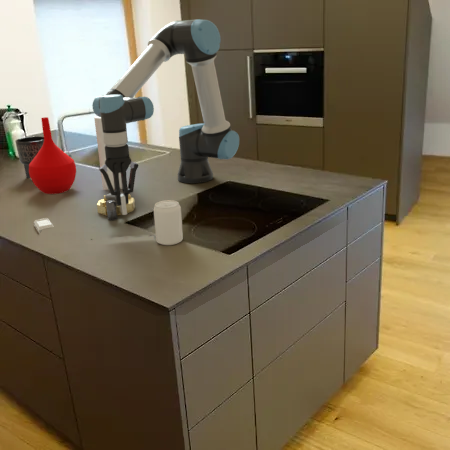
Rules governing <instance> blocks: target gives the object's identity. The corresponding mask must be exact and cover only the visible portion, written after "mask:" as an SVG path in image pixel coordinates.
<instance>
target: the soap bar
mask: <svg viewBox="0 0 450 450" xmlns="http://www.w3.org/2000/svg"><path fill="white" fill-rule="evenodd" d="M33 226H34V229H36V232H37V233H38V234H39V235H41V232H42V231H43V230H45V229H49V228H54V227H55V226H54V225H53V223H52V222H51V221H50V219H49V218H48V217H44V218H39V219H35V220H34V221H33Z"/></svg>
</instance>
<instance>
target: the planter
mask: <svg viewBox="0 0 450 450" xmlns="http://www.w3.org/2000/svg"><path fill="white" fill-rule="evenodd" d="M43 143H44V136H40V135H38V136H37V135H35V136H27V137H26V136H25V137H20V138H17V139H16V140H15V146H16V151H17V155H18V159H19V162H20V163H21V164H23V167H24V172H25V177H26V178H27V179H31V178H30V175H29V164H30V163H31V161H32V160H33V159H34V157H35V156H36V155H37V153H38V152H39V150H40V149H41V147H42V146H43Z"/></svg>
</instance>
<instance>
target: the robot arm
mask: <svg viewBox="0 0 450 450" xmlns="http://www.w3.org/2000/svg"><path fill="white" fill-rule="evenodd" d="M221 39H222V38H221V34H220V32H219V29H218V27H217V25H216V24H215V23H214V22H212V21H211V20H208V19H202V18H201V19H200V18H198V19H188V20H187V19H186V20H175V21H171V22H170V23H168V24H166V25H164V27H162V28H160V29H159V30H158V31H157V32H156V33H155V34H154V35H153V36H152V37H151V38H150V39H149V40H148V42H147V48H146V49H145V50H144V51H143V52H142V53H141V54H140V56H138V57H137V59H136V60H135V61H134V62H133V63H132V65H131V66H130V67H129V68H128V69H127V70H126V71H125V72H124V74H123V75H122V76H121V77H120V78H119V79H118V80H117V82H116V83H115V84H114V85H113V86H112V87H111V88H110V89H109V91H107V92H106V94H105V95H104V94H101V95H98V96H96V97H95V98H94V99H93V100H92V105H91V106H92V110H93V113H94V114H95V115H96V116H99V117H101V121H102V129H103V137H104V144H105V145H106V146H105V155H106V161H105V165H104V166H102V167H99V168H98V171H99V172H100V174H101V173H102V174H103V176H104V179H105V181H106V184H107V187H108V189H109V190H108V192H109V193H111V195H115V196H116V201H117V204H118V205H120V209H121V213H122V215H121V216H126V215H128V213H127V209H126V204H128V203H129V200H128V195H129V194H132V193H133V192H134V187H135V182H136V181H135V180H136V174H137V170H138V168H139V164H138V163H137V162H135V161H132V159H131V157H130V149H129V145H128V142H129V138H128V132H127V128H128V127H127V124H129V123H135V122H140V121H145V120H148V119H150V118H152V116H154V110H155V108H154V103H153V101H152V100H151V99H150V98H149V97H148V96H137V97H135V96H136V95H137V93H138V92H139V91H140V90H141V89H142V88H143V86H144V85H145V84H147V82H148V80H150V79H151V77H152V76H153V74H155V72H156V71H157V70H158V69H159V68H160V67H161V65H162V64H163V63H165V62H168V61H170V59H171V58H172V57H173V56H176V55H177V56H178V55H184V57H185V62H186V64H189V65H190V66H191V70H192V76H193V80H194V83H195V89H196V93H197V98H198V102H199V107H200V111H201V115H202V121H203V123H195V124H188V125H184V126H181V127H180V128H179V130H178V142H179V152H180V153H179V155H180V164H179V167H178V171H177V181H179V182H181V183H186V184H201V183H205V182H206V183H207V182H210V181H212V180H213V178H214V173H213V170H212V167H211V164H210V162H209V158H212V159H217V160H231V159H233V157H234V156H235V154H236V153H237V151H238V149H239V145H240V136H239V134H238V132H236V131H235V130H232V127H231V123H230V122H229V120H226V116H225V110H224V105H223V100H222V95H221V90H220V85H219V79H218V75H217V70H216V69H217V68H216V66H215V59H216V58H217V57H218V56H217V54H218V53H217V52H219V49H220V47H221V45H220V44H221V43H222V42H221ZM107 167H108V168H109V169H110V170H111V171H112V172H113V178H114V186H115V189H113V187H112V184H111V181H110V179H109V176H108V174H107V173H106V172H107ZM129 168H130V171H129V177H128V181H127V170H128V169H129ZM119 173H121V180H122V189H120V185H119ZM121 190H122V193H123V194H120V192H121Z"/></svg>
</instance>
